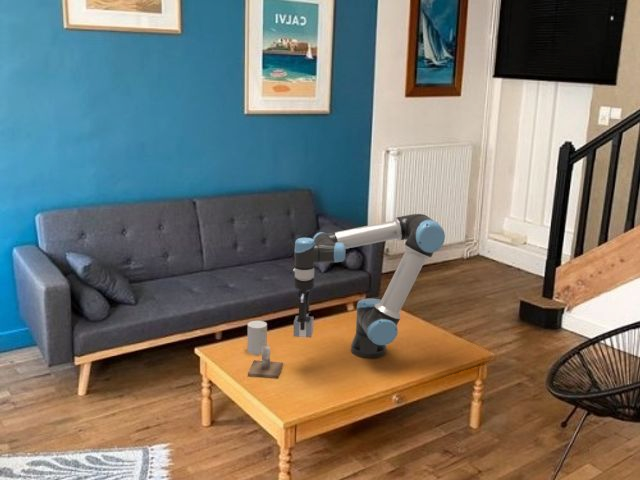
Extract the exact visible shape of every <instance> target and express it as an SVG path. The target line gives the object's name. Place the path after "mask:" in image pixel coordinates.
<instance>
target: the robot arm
mask: <svg viewBox="0 0 640 480" xmlns="http://www.w3.org/2000/svg"><path fill="white" fill-rule="evenodd" d="M445 234H446V233H445V231H444V228H443V227H442V226H441V224H440V223H438V222H437V221H436V220H434V219H432V218H430V217H429V216H427V215H426V214H423V213H413V214H408V215H407V214H406V215H403V216H402V215H401V216H397V217H394V218H393V219H392V220H391V221H384V222H379V223H374V224H369V225H364V226H359V227H355V228H350V229H345V230H344V229H343V230H340V231H334V232H329V233H327V232H323V231H322V232H321V231H320V232H317V233H316V234H314V236H313V238H311V237H299V238H297V239H296V240H295V242H294V268H293V272H294V288H295V289H297V290H299V292H298V316H299V320H297V322H299V337H298V338H307V337H306V316H309V314H311V310H310V294H311V293H310V290H312V289H314V286H315V264H319V263H325V264H326V263H340V262H341V263H342V262H344V261H345V259H346V249H350V248H351V249H352V248H357V247H361V246H367V245H372V244H377V243H382V242H387V241H391V240H397V241H405V240H406V241H405V244H404V248H405V252H404V253H403V255H402V257H401V259H400V261H399V264H398V266H397V268H396V270H395V272H394V274H393V275H392V278H391V280H390V282H389V283H388V286H387V288H386V290H385V292H384V294H383V295H382V298H381V299H379V298H362V299H359V301H358V302H357V304H356V322H355V323H356V324H355V335H354V337H353V338H352V342H351V345H350V351H351V353H352V354H354V356H358V357H360V358H364V359H376V358H382V357H383V356H385V355H386V354H387V345H389V344H391V343H393V341H395V339H396V338H397V336H398V334H399V333H398V332H399V331H398V324H399V322H400V320H401V314H400V312H401V309H402V308H403V306H404V303H405V302H406V300H407V298H408V295H409V294H410V292H411V290H412V288H413V286H414V284H415V282H416V280H417V278H418V275H419V273H420V272H421V270H422V269H423V268H422V267H423V266H424V264H425V262H426V261H427V260H428V259H430V258H431V259H432V256H433V254H435V252H437V251H439V250H440V249H441V248H442V247H443V245H444V243H445V239H446V237H445V236H446V235H445Z"/></svg>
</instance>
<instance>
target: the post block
mask: <svg viewBox="0 0 640 480" xmlns="http://www.w3.org/2000/svg"><path fill="white" fill-rule="evenodd" d="M283 366H284V362H283V361H282V362H281V361H280V362H279V361H271V346H270V345H268V344H267V345H264V346H262V354H261V360H256V359H255V360H254V359H253V361H252V364H250V368H249V370H248V371H247V377H251V378H252V377H254V378H265V379H267V378H268V379H279V377H280V376H281V375H280V374H281V371H282V369H283Z"/></svg>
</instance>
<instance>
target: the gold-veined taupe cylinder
mask: <svg viewBox="0 0 640 480" xmlns="http://www.w3.org/2000/svg"><path fill="white" fill-rule="evenodd" d="M267 342H268V323H267V322H266V321H263V320H252V321H251V320H250V321H249V322H248V323H247V345H246V347H247V349H246V350H247V353H249V354H250V355H252V356H253V355H254V356H258V355H259V356H261V355H262V346H264V345H268V343H267Z"/></svg>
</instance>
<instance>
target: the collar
mask: <svg viewBox="0 0 640 480" xmlns="http://www.w3.org/2000/svg"><path fill="white" fill-rule="evenodd" d="M297 320H299V315H295V318H294V320H293V338H294V337H295V338H296V337H297V338H300V337H299V322H297ZM313 332H314V316H306V337H305V338H310V339H311V338H312V336H313Z"/></svg>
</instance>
